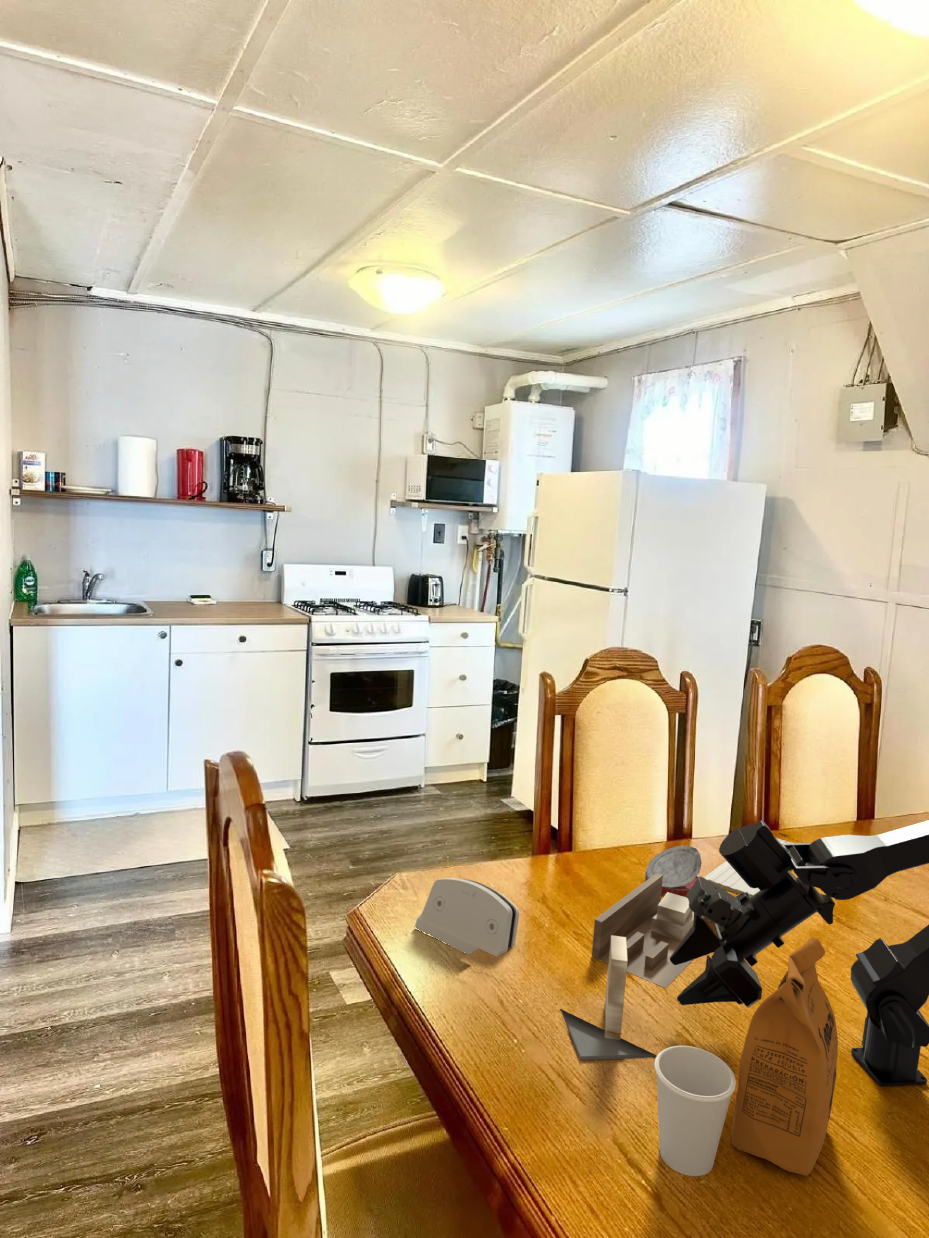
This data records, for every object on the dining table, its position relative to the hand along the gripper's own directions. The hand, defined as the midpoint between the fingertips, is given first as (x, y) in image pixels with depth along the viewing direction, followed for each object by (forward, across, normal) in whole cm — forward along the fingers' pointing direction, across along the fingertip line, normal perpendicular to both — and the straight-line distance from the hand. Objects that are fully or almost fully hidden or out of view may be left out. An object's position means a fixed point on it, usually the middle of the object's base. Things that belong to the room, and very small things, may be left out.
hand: (675, 980), depth 106 cm
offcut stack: (+2, -26, +7) cm, 27 cm away
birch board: (+11, 0, 0) cm, 11 cm away
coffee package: (-2, +15, +13) cm, 20 cm away
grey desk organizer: (+6, -21, +6) cm, 22 cm away
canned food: (+3, -44, +9) cm, 45 cm away
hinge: (+27, -18, -15) cm, 36 cm away
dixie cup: (+6, +20, +6) cm, 22 cm away
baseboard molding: (-10, -60, +22) cm, 65 cm away
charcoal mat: (+11, 0, 0) cm, 11 cm away
